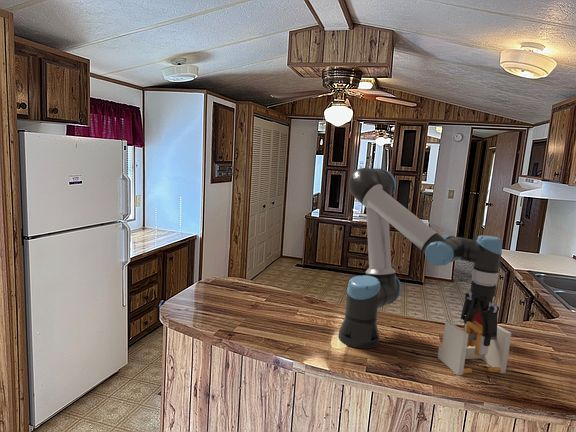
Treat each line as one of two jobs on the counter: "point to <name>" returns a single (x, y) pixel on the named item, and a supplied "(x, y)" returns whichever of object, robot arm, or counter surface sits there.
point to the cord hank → (472, 329)
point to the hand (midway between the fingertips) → (474, 347)
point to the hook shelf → (473, 349)
